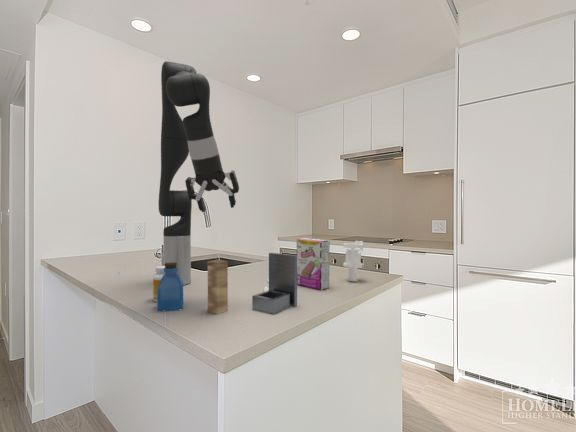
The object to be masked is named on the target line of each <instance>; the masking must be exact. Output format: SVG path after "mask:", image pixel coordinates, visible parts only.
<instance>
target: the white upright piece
mask: <svg viewBox="0 0 576 432" xmlns="http://www.w3.org/2000/svg"><path fill="white" fill-rule="evenodd" d="M343 247H344V248H347V249H346V250H345V261H344V262H343V263H342V264H343V267H345V268H348V282H350V281H357V282H358V269H361V268H363V267H364V266H363V265H364V263H363V262H361V261H362V258H361V257H362V255H361V254H362V253H361V252H363V251H364V241H363V240H355V242H344V243H343Z"/></svg>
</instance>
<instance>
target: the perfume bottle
mask: <svg viewBox="0 0 576 432" xmlns="http://www.w3.org/2000/svg"><path fill="white" fill-rule="evenodd" d="M176 264H177V263H174V262H171V263H165V268H164V272H165V275H163V277H162V279H161V281H160V283H159V285H158V288H157V304H156V305H157V308H156V310H157V311H160V312H164V311H163V310H172V311H180V310H179V309H182V310H183V309H184V308H183V307H184V285H183V280H182V279H181V277H180V275H179V274H176V272H177V267H176Z"/></svg>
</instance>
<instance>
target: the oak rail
mask: <svg viewBox="0 0 576 432" xmlns="http://www.w3.org/2000/svg"><path fill="white" fill-rule="evenodd" d="M206 263H207V264H206V266H207V313H208V312H209V313H211V314H216V315H220V314H222V313H224V312H227V311H228V309H229V308H228V307H229V306H228V305H229V303H228V301H229V299H228V298H229V297H228V294H229V291H228V290H229V289H228V288H229V287H228V281H229V280H228V279H229V278H228V275H229V274H228V271H229V270H228V269H229V268H228V264H229V261H228V260H221V259H215V260H208V261H206Z"/></svg>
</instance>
